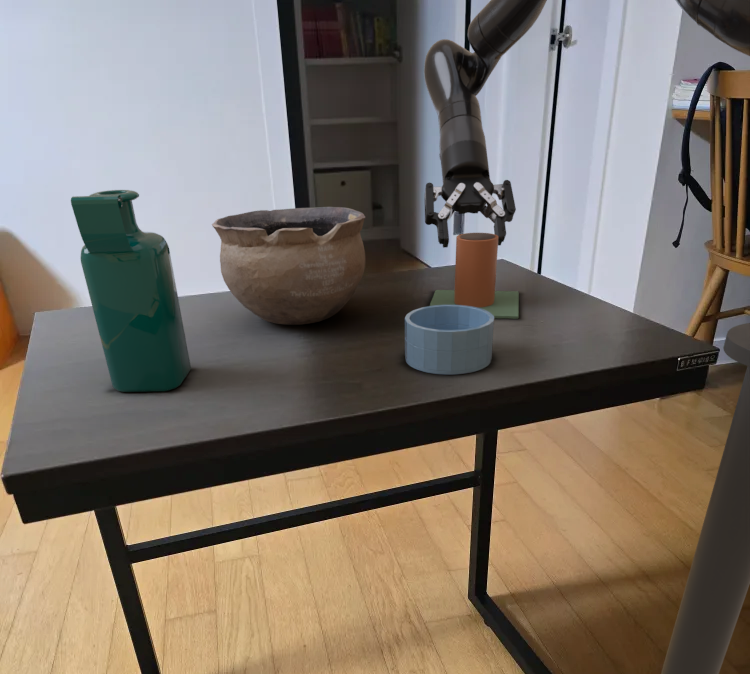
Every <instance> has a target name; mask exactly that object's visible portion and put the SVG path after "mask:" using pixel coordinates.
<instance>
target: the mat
mask: <svg viewBox="0 0 750 674" xmlns="http://www.w3.org/2000/svg"><path fill="white" fill-rule="evenodd" d="M519 292H520V291H518V290H517V291H515V290H495V298H494V303H493V304H492V305H490V306H486V307H479V308H481V309H484V310H486V311H488V312H490V313H491V314H492V315H493V316H494V319H509V320H511V319H512V320H518V319H519V315H520V313H519V311H520V309H519V306H520V305H519V301H520V298H519V297H520V294H519ZM454 294H455V289H435V291H434V293H433V295H432V298H431V301H430V303H429V306H434V305H457V304H455V303H454Z"/></svg>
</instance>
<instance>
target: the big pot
mask: <svg viewBox="0 0 750 674" xmlns="http://www.w3.org/2000/svg"><path fill="white" fill-rule="evenodd" d="M494 327H495V318H494V316H493V315H492V314H491V313H490V312H488V311H486V310H484V309H481V308H477V307H473V306H465V305H434V306H430V305H427V306H423V307H419V308H416V309H413V310H411V311H409V312H408V313H407V314H406V315H405V317H404V356H405V359H404V360H405V362H406V364H407V365H408V366H409V367H411V368H412V369H415V370H417V371H419V372H423V373H428V374H432V375H433V374H434V375H449V376H451V375H462V374H464V375H465V374H470V373H475V372H478V371H481V370H483V369H486V367H488V366H489V365H490V364H491V362H492V359H493V358H492V357H493V345H494V344H493V342H494V329H495V328H494Z"/></svg>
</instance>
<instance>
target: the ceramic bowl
mask: <svg viewBox="0 0 750 674" xmlns="http://www.w3.org/2000/svg"><path fill="white" fill-rule="evenodd" d="M365 219H366V216H365V214H364V213H363V212H361V211H359V210H355V209H353V208H351V207H350V208H349V207H341V206H321V207H317V206H316V207H295V208H283V209H281V208H280V209H272V210H268V209H259V210H252V211H248V212H242V213H237V214H232V215H228V216H227V215H226V216H225V217H220V218H216V220H215V221H214V222H213V223H212V224H211V226H212V228H213V229H214V230H215V232H216V233H217V235H218V236H219V238H220V252H219V265H220V273H221V276H222V279H223V281H224V283H225V285H226V287H227V288H228V290H229V291H230V293H231V295H232V296H233V297H234V298H235V299H236V300H237V301H238V302H239V303H240V304H241V305H242V306H243V307H244V308H245V309H246V310H248V311H249V312H251V313H253V315H255V316H257V317H258V318H260V319H261V320H264V321H265V322H268V323H272V324H273V323H274V324H278V325H287V326H288V325H290V326H291V325H293V326H297V325H298V326H300V325H309V324H315V323H319V322H323V321H325V320H328V319H330V318H332V317H333V316H335V315H337V313H339V312H340V311H341V310H342V309H343V308H344V307H345V306H346V304H347V303H348V302H349V301H350V299H352V297H353V295H354V294H355V292H356V290H357V288H358V286H359V284H360V282H361V280H362V279H363V277H364V276H363V275H364V272H365V268H366V251H365V247H364V242H363V239H362V235H361V231H362V230H363V226H364V224H365V223H364V222H365Z"/></svg>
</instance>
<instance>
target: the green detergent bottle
mask: <svg viewBox="0 0 750 674" xmlns="http://www.w3.org/2000/svg"><path fill="white" fill-rule="evenodd" d="M139 197H140V194H139V192H137V191H136V190H132V189H111V190H109V189H108V190H102V191H95V192H93V193H91V194H88V195H78V196H77V195H76V196H74V195H73V196H71V197H70V204H71V207H72V211H73V214H74V218H75V222H76V224H77V228H78V231H79V234H80V237H81V240H82V242H83V244H84V245H83V246H82V247H81V250H80V265H81V268H82V272H83V276H84V279H85V280H84V281H85V283H86V287H87V292H88V295H89V299H90V304H91V307H92V311H93V315H94V318H95V322H96V326H97V330H98V334H99V339H100V341H101V346H102V350H103V354H104V358H105V363H106V367H107V370H108V374H109V378H110V381H111V385H112V387H113V389H115V390H116V391H118V392H121V393H139V392H140V393H143V392H145V393H146V392H167V391H168V392H169V391H172V390H174V389H177V388H179V387H180V386H181V385H182V383H183V382H184V381H185V379H186V377H187V376H188V374H189V373H190V371H191V369H192V366H191V360H190V355H189V349H188V344H187V338H186V333H185V328H184V323H183V317H182V310H181V306H180V300H179V296H178V295H179V294H178V289H177V284H176V283H177V282H176V279H175V274H174V267H173V262H172V257H171V252H170V251H171V250H170V246H169V244H168V242H167V240H166V239H165V237H163V235H162V234H159V233H156V232H153V231H143V230H142V229H141V228H140V227H139V225H138V223H137V219H136V215H135V214H136V213H135V210H134V205H133V201H135V200H137V199H138V198H139Z"/></svg>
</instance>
